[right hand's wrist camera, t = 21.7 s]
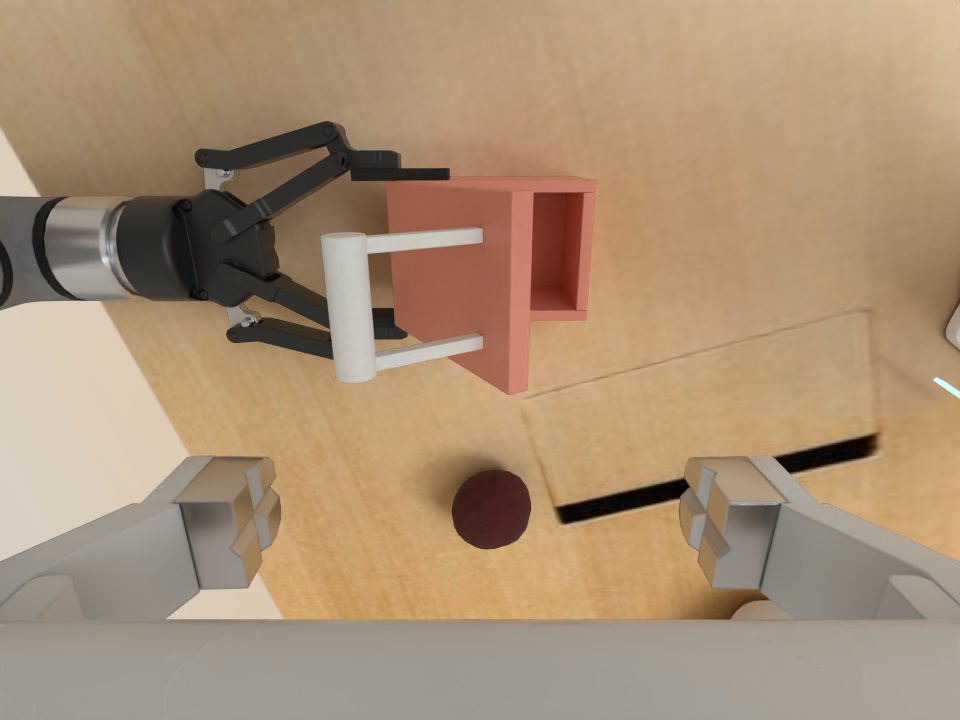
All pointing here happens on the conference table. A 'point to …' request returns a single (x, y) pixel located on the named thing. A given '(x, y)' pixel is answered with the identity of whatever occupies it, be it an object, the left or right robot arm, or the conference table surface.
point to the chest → (553, 240)
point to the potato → (491, 509)
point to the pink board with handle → (439, 283)
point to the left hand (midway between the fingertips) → (450, 249)
